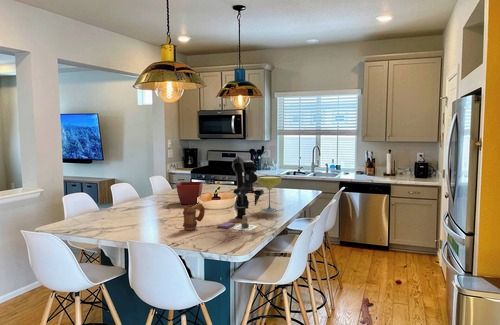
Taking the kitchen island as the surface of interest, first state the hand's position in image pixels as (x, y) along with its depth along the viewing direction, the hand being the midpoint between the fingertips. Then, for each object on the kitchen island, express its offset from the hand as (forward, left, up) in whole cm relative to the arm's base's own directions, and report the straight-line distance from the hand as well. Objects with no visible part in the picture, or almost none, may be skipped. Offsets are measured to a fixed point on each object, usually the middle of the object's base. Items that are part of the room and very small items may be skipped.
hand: (248, 205), depth 235 cm
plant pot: (-45, -74, -12) cm, 88 cm away
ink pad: (+12, -10, -12) cm, 20 cm away
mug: (+24, -26, -12) cm, 37 cm away
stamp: (+10, +2, -12) cm, 16 cm away
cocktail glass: (-44, -3, -12) cm, 46 cm away
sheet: (+10, +2, -12) cm, 16 cm away
